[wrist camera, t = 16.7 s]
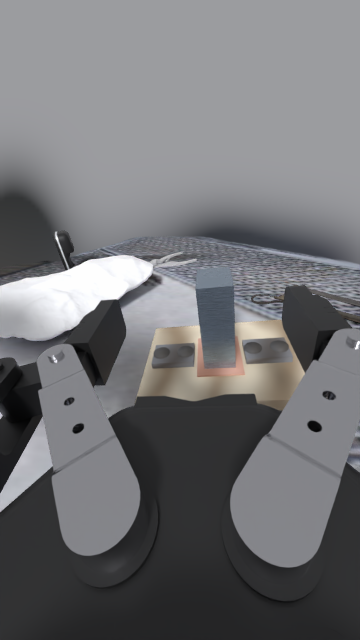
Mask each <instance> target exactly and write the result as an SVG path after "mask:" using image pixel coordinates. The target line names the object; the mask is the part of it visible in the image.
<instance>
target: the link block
mask: <svg viewBox="0 0 360 640" xmlns="http://www.w3.org/2000/svg"><path fill="white" fill-rule="evenodd" d="M196 298H197V306H198V315H199V324H200V333H201V342H202V351H203V360H204V369H212V368H236V355H235V317H234V285H233V280H232V276H231V271H230V267H221V268H211V269H200V270H197V278H196Z"/></svg>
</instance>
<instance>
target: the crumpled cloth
mask: <svg viewBox="0 0 360 640" xmlns="http://www.w3.org/2000/svg"><path fill="white" fill-rule="evenodd" d="M152 272H153V265H152V264H151V263H149V262H146V261H144V260H141V259H139V258H136V257H133V256H127V255H121V256H119V255H118V256H112V257H107V258H101V259H91V260H88V261H86V262H84V263H82V264H80V265H78V266H76V267H73V268H71V269H69V270H67V271H64V272H61V273H56V274H50V275H48V276H43V277H34V278H25V279H23V280H20V281H16V282H11V283H8V284H5V285H2V286H0V337H2V338H9V337H12V336H14V337H17V338H25V339H27V340H30V341H45V340H49V339H52V338H54V337H56V336H58V335H60V334H62V333H63V332H65V331H67V330H71V329H73V328H74V327H76V326H77V325H78V324H79V322H80V321H81V320H82V318H83V317H84V316H85V315H86V314H88V313H89V312H91V311H93V310H94V309H95V308H96V307H97V305H98V304H99V302H100V301H101V300H112V299H117V300H118V299H120V298H121V297H122V296H123V295H124V294H125V293H127V292H128V291H130V290H132V289H135V288H137V287H138V286H140V285H141V284H142V283H143V282H145V281H147V279H148V278H149V277H150V276H151V275H152Z"/></svg>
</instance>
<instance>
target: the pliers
mask: <svg viewBox="0 0 360 640" xmlns="http://www.w3.org/2000/svg"><path fill="white" fill-rule="evenodd" d="M179 254H182V252H179V253H175V254H171V255H168V256H166V257H164V258H161V259H160V260H159V259H155V260H152V261H151V262H149V263H151V264H152V265H153V268H157V267H169V266H178V265H183V264H187V263H191V262H194V261H197V259H193V260H189V261H184V262H167V261H169V260H170V258H171V257H173V256H176V255H179ZM166 259H167V260H166ZM165 260H166V261H165ZM164 261H165V262H167V263H165V264H160V263H162V262H164ZM158 264H159V265H158Z"/></svg>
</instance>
